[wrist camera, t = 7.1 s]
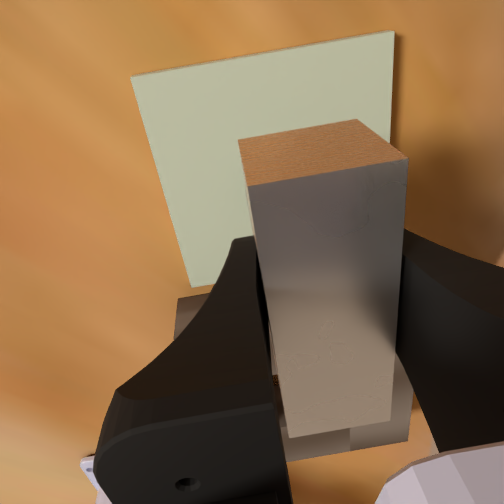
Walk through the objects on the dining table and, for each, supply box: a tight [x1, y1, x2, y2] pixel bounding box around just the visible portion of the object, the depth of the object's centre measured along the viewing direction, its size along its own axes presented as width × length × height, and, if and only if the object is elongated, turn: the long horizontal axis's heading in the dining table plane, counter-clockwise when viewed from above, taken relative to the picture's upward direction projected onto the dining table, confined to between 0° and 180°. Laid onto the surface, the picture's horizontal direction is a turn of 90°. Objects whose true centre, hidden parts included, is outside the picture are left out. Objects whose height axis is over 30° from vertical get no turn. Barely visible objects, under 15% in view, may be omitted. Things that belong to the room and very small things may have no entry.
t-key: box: [238, 119, 409, 438], centre depth 13 cm, size 3×8×8 cm, turn 9°
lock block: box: [174, 293, 414, 462], centre depth 23 cm, size 12×12×3 cm
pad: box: [130, 30, 394, 288], centre depth 18 cm, size 10×10×1 cm
